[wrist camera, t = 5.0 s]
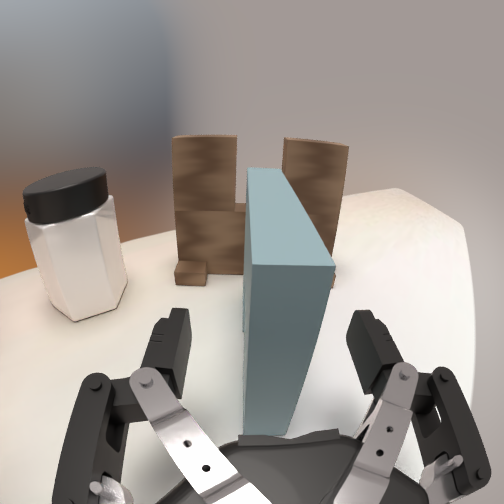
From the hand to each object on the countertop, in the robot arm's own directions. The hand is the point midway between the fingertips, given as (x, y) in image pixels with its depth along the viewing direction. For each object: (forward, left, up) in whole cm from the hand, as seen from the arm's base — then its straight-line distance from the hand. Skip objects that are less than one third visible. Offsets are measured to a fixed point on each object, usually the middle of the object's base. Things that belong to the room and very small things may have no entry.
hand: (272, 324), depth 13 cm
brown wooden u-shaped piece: (0, +16, -7) cm, 18 cm away
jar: (-17, +10, -7) cm, 21 cm away
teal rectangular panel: (0, +4, -7) cm, 8 cm away
